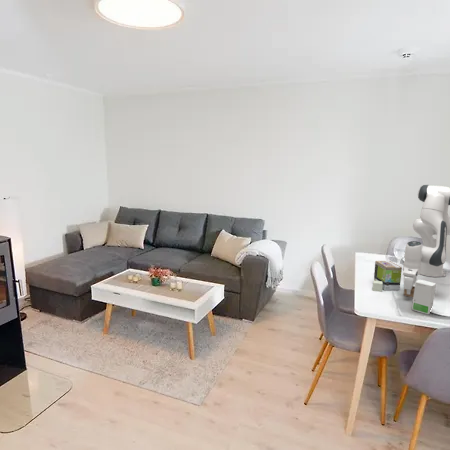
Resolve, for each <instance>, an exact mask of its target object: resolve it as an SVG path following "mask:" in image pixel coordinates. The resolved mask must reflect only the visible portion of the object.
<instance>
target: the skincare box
mask: <svg viewBox="0 0 450 450" xmlns="http://www.w3.org/2000/svg"><path fill="white" fill-rule="evenodd" d="M414 286H415V290H414V297H412V298H413V299H412V305H411V310H412V311H415V312H418V313H422V314H424V315H430V314H431V313H430V310H431V308H432V306H433V307H434V300H435V294H436V287H437V283H436V282H432V281H428V280H425V279H418V280H416V282H415V283H414ZM432 309H433V308H432Z"/></svg>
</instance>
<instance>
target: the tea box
mask: <svg viewBox="0 0 450 450" xmlns="http://www.w3.org/2000/svg"><path fill="white" fill-rule="evenodd" d="M402 273H403V266H400V265H398V264H397V263H395V262H393V261H391V260H375V262H374V273H373V280H374V281H382V283H383V287H382V291H400V290H401V281H402Z"/></svg>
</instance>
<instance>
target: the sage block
mask: <svg viewBox="0 0 450 450" xmlns="http://www.w3.org/2000/svg"><path fill="white" fill-rule="evenodd" d="M372 282H373V283H372V291H373V292H381V293H382V292H383V289H382V287H383V283H382V281H374V279H373V281H372Z"/></svg>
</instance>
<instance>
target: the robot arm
mask: <svg viewBox="0 0 450 450" xmlns="http://www.w3.org/2000/svg"><path fill="white" fill-rule="evenodd" d="M417 197H418V200H419V201H421V202H422V203H423V204H422V208H421V211H420V215H419V216H420V218H416V219H415V220H414V221H413V222H412V228H413V230H414V231H415V232H416V233H417V234H418V235H419V236H420V238H421V240H422V242H420V241H417V240H412V241H408V242H407V243H406V245H405V249H404V254H403V255H404V260H403V265H402V275H403V289H407V294H409V295H410V294H411V289H412V287H413V286H415V283H416V281H417V277H418V275H422V276H426V277H433V278H434V277H435V278H438V277H446V273H445V271H444V264H445V263H446V259H447V236H450V216H449V214H448V213H449V206H450V187H449V186H445V185H429V184H423V185H421V186H420V188H419V189H418V192H417ZM433 235H434V236H436V238H434V237H433Z"/></svg>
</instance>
